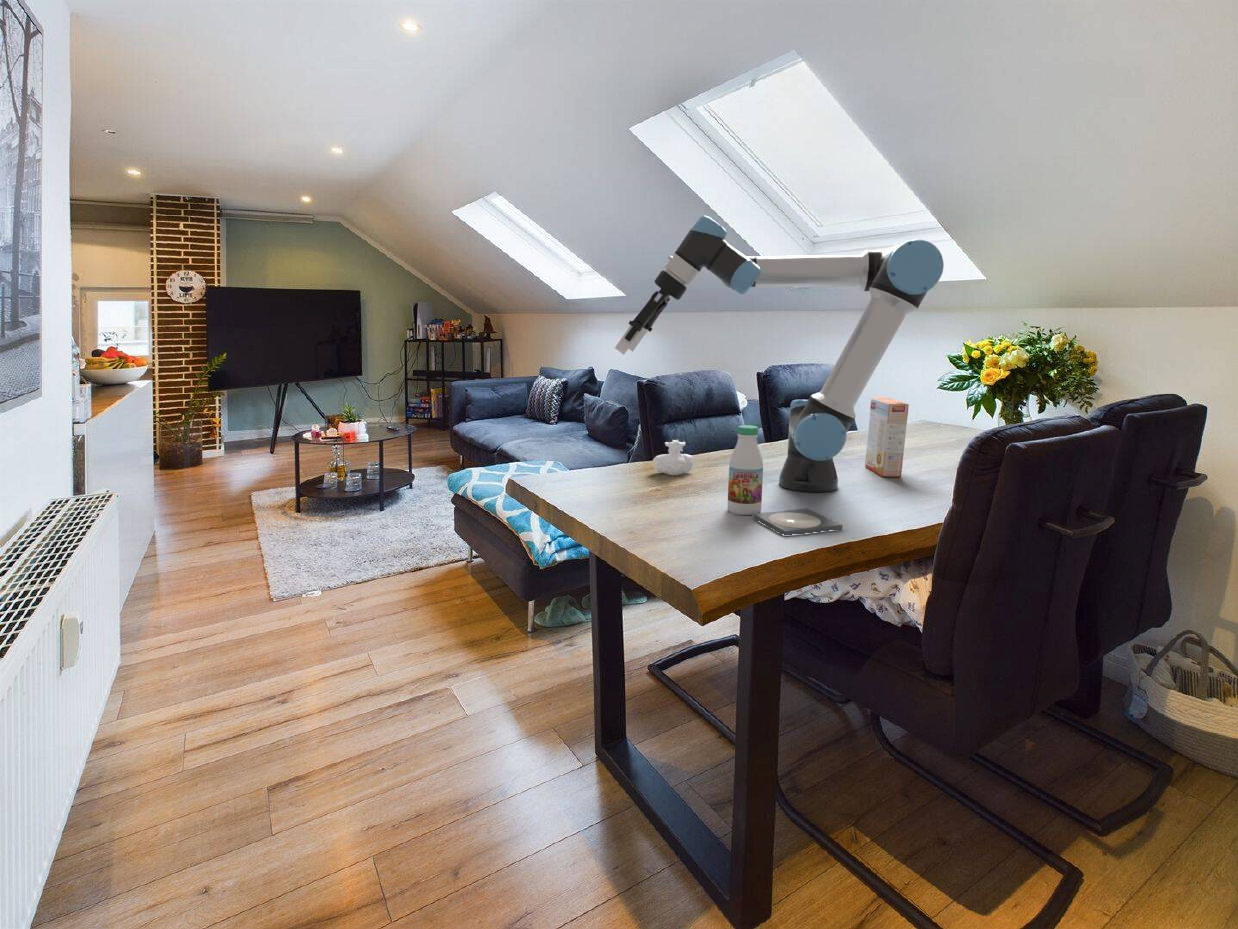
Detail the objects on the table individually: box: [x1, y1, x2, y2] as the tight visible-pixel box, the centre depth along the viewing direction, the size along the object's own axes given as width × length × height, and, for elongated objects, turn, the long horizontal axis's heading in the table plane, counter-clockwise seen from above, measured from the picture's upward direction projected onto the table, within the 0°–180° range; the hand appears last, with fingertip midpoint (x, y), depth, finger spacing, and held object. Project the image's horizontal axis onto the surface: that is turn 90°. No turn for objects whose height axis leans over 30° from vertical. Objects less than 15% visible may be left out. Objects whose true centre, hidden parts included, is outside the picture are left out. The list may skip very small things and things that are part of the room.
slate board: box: [752, 507, 844, 535], centre depth 148 cm, size 14×13×1 cm
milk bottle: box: [727, 424, 764, 516], centre depth 155 cm, size 8×8×20 cm
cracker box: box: [864, 397, 910, 478], centre depth 195 cm, size 14×6×21 cm, turn 179°
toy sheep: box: [652, 439, 696, 476], centre depth 192 cm, size 12×8×11 cm
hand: (624, 349), depth 168 cm, fingers open, 13 cm apart
